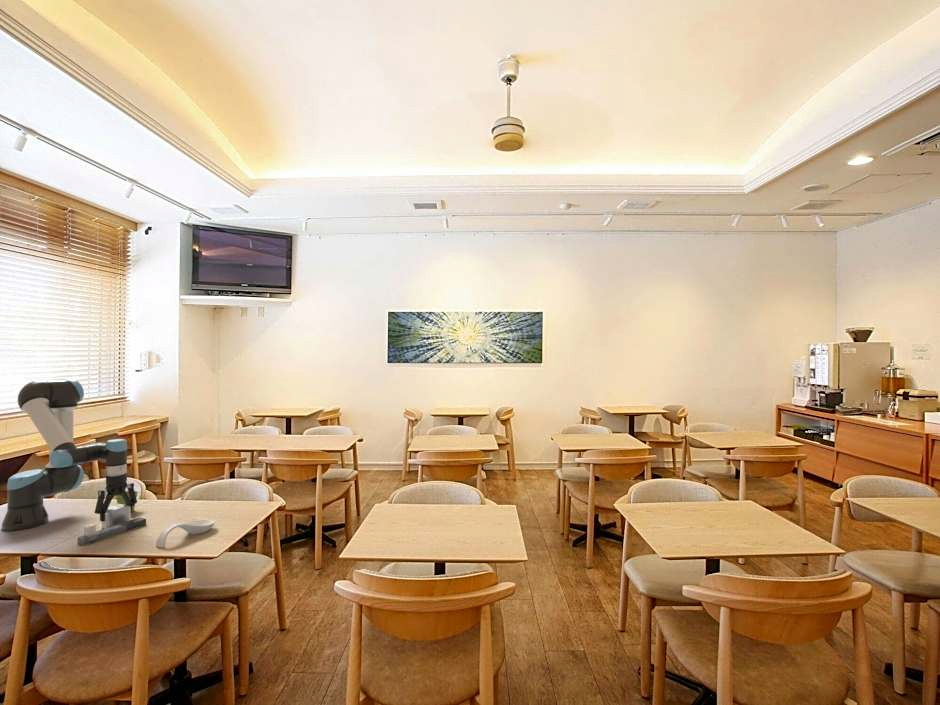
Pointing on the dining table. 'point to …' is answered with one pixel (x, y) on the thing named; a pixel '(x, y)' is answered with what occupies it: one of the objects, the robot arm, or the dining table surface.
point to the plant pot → (121, 500)
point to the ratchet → (108, 531)
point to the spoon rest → (189, 527)
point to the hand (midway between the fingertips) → (116, 524)
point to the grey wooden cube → (117, 514)
